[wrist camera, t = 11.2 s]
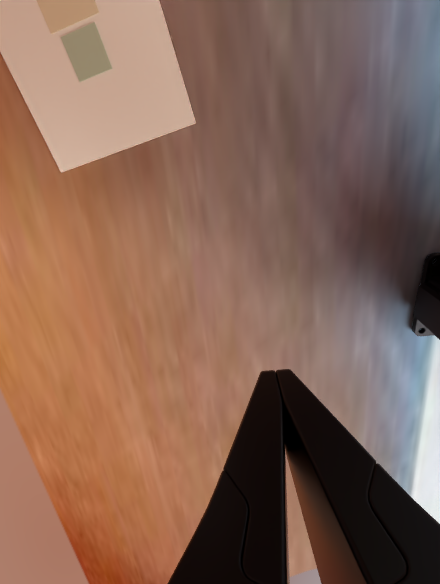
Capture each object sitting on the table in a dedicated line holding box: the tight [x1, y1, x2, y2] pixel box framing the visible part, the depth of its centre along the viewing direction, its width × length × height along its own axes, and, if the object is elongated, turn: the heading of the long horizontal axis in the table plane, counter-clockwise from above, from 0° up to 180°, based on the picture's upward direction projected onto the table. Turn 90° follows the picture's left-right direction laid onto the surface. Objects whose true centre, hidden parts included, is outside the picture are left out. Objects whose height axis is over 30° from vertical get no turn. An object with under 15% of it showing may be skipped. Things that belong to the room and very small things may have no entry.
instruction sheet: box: [0, 0, 196, 172], centre depth 15 cm, size 9×12×1 cm
